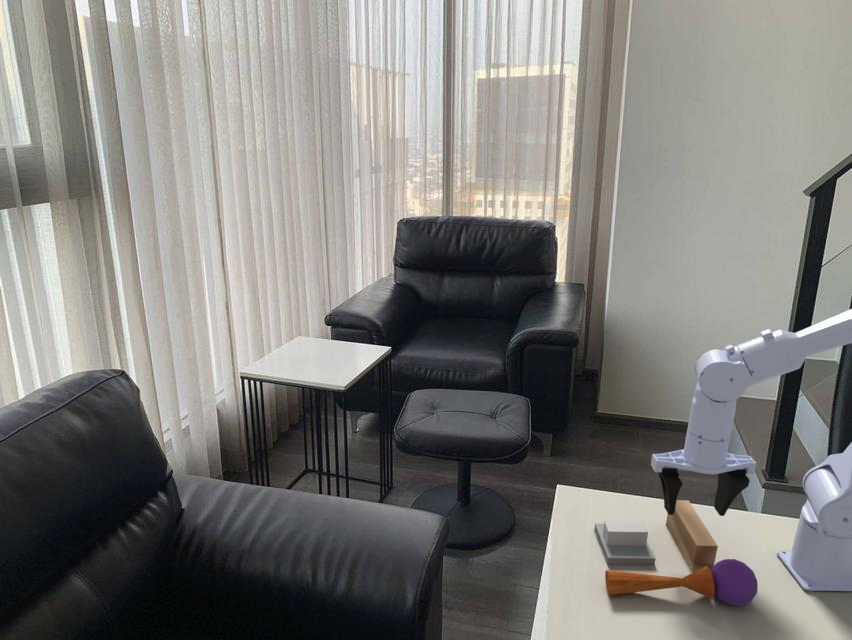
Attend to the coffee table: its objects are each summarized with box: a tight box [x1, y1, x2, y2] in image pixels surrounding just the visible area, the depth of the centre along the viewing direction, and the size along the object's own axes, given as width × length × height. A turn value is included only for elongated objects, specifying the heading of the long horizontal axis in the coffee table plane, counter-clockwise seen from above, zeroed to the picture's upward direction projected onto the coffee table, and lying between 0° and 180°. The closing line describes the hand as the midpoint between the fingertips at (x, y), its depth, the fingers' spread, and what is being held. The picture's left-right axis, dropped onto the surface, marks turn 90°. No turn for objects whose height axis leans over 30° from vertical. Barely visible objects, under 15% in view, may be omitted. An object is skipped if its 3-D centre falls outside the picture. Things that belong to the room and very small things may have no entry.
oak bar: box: [665, 499, 719, 573], centre depth 97 cm, size 3×11×5 cm, turn 0°
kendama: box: [604, 558, 758, 606], centre depth 88 cm, size 6×6×20 cm
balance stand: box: [593, 521, 656, 566], centre depth 98 cm, size 7×8×4 cm
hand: (693, 511), depth 96 cm, fingers open, 7 cm apart
